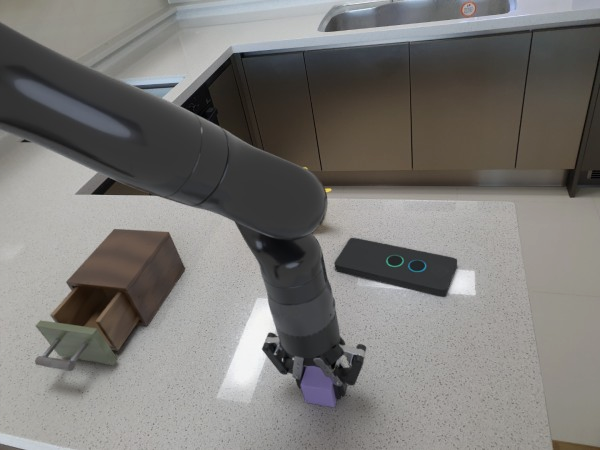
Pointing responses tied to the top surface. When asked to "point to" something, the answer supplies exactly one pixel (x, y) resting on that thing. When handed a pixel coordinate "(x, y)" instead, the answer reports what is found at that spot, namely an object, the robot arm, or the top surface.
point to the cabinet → (133, 269)
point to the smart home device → (397, 266)
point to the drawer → (87, 327)
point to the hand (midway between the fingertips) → (323, 390)
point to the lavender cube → (317, 387)
